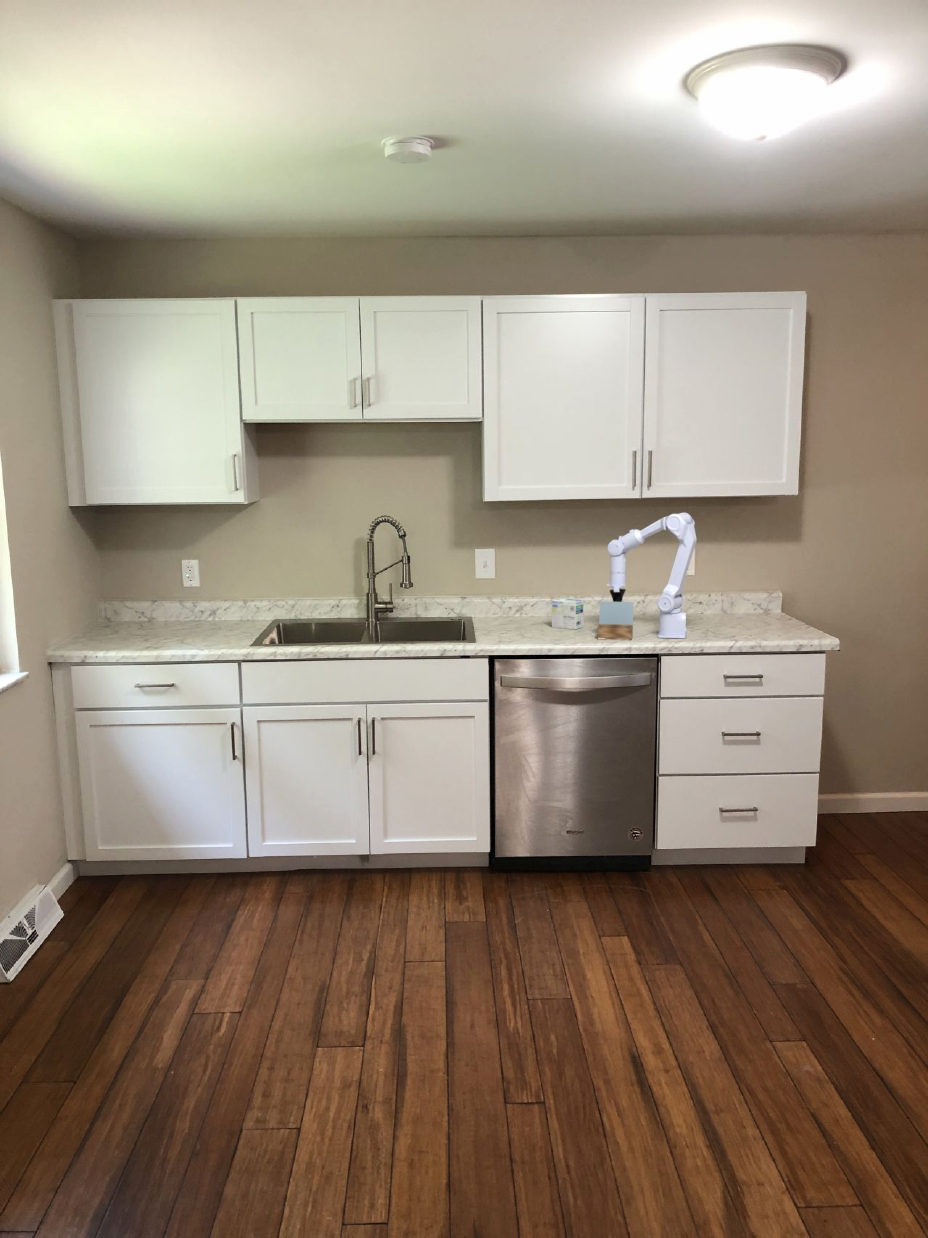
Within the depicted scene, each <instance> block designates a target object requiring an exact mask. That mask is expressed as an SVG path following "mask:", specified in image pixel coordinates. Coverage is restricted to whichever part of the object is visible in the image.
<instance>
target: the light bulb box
mask: <svg viewBox="0 0 928 1238" xmlns="http://www.w3.org/2000/svg"><path fill="white" fill-rule="evenodd" d="M584 602H585V601H584V599H577V598H575V599H574V598H561V597H559V598H555V599H551V628H556V629H566V630H579V629H582V628H584V626H585V625H584V623H585V621H584V617H585V616H584V615H585V614H584V611H585V610H584Z"/></svg>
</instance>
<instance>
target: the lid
mask: <svg viewBox="0 0 928 1238" xmlns="http://www.w3.org/2000/svg"><path fill="white" fill-rule="evenodd" d="M598 615H599V616H598V618H599V619H598V625H599V624H604V625H634V601H622V602H613V601H604V600H603V601H599V614H598Z"/></svg>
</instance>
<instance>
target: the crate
mask: <svg viewBox="0 0 928 1238" xmlns="http://www.w3.org/2000/svg"><path fill="white" fill-rule="evenodd" d="M633 625H634V624H633ZM633 625H613V624H599V623H598V626H597V629H596V630H597V633H596V634H597V636H596V637H597V638H605V639H629V640H628V641H632V640H633V636H634V635H633V634H634V633H633V631H634V630H633V628H634V626H633ZM597 638H596V639H597ZM605 639H604V640H605Z"/></svg>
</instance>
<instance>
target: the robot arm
mask: <svg viewBox="0 0 928 1238" xmlns="http://www.w3.org/2000/svg"><path fill="white" fill-rule="evenodd" d="M695 524H696V523H695V520H694V519H693V517H692V516H691V515H690V513H688V512H680V513H672V514H670V515H667V516H665V517H662V518H660V519H657V521H654V522H653V523H651V524H650V525H648V526H646V527H644V528H643V529H641V530H640V529H637V528H635V529H629V532H628V533H626V534H625V535H619V536H618V539H612V540H611V541H610V542H609V543H608V544H607V551H608V553H609V561H610V562H609V583H606V587H609V588H611V589H609V594H610V595H611V598H612V602H623V597H624V595H625V593H626V589H625V588H626V587H627V584H626V582H627V581H626V580H627V579H626V578H627V575H626V574H627V573H626V572H627V570H626V569H627V553H628V552H629V551H632V550H633V549H635V548H637V547H639V546H641V545H643V544H644V542H645V540H646V538H649V537H651V536H653V535H654V534H656V533H657V534H658V533H660V532H661V531H670V533H672V534H673V535H674V536H676V538H677V540H678V542H679V545H678V549H677V552H676V554H675V559H674V563H673V564H672V569H671V572H670V574H669V578H668V583H667V584H666V586H665V587H664V589H663V590H662V594H661V595H659V597H658V598H657V601H656V604H657V608H658V609H659V624H658V625H659V627H658V629H659V631H658V633H657V637H658V638H659V639H660V638H661V639H686V634H687V627H686V625H687V621H686V620H687V613H686V612H683V611H682V612H681V608H682V605H684V593H685V592H684V589H683V586H684V583H685V580H686V576H687V573H688V569H689V567H690V563H691V560H692V557H693V554H694V551H695V548H696V544H697V536H696V529H695ZM658 638H657V639H658Z"/></svg>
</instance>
